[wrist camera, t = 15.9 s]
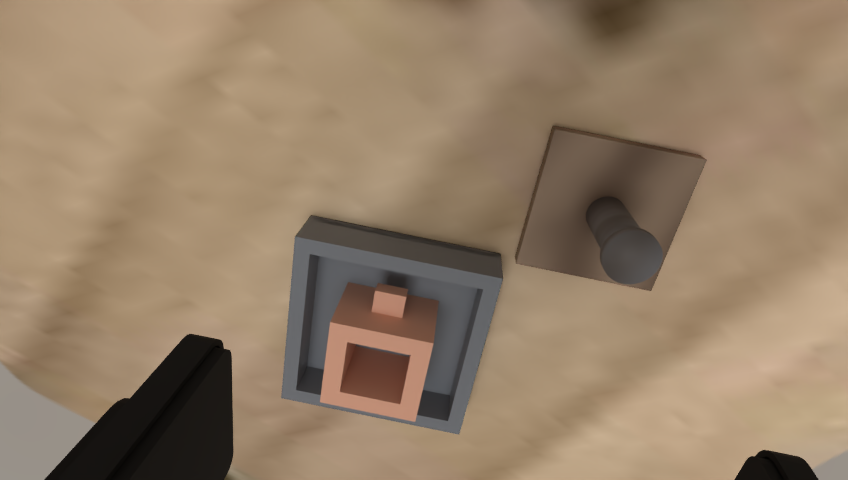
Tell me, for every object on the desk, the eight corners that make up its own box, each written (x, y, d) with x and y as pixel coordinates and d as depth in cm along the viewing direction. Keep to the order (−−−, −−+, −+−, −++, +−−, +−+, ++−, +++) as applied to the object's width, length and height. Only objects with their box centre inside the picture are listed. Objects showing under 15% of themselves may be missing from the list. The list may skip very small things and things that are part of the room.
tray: (500, 253, 36) (502, 278, 32) (460, 400, 41) (459, 434, 38) (311, 215, 36) (295, 236, 33) (296, 367, 41) (281, 398, 38)
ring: (443, 280, 36) (438, 321, 31) (422, 373, 39) (415, 421, 35) (350, 261, 36) (332, 300, 31) (337, 355, 39) (319, 402, 35)
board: (700, 155, 32) (757, 195, 25) (646, 283, 36) (684, 346, 29) (552, 125, 32) (572, 157, 25) (515, 256, 36) (523, 313, 29)
